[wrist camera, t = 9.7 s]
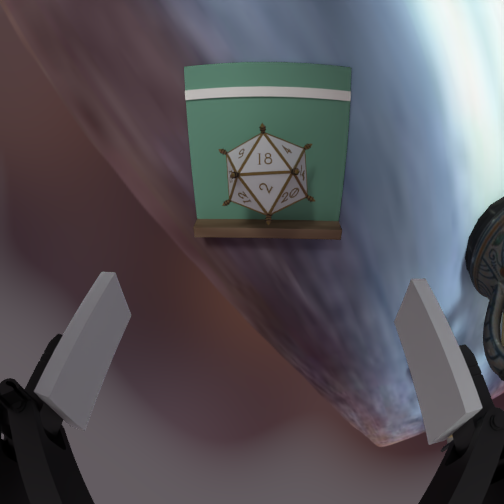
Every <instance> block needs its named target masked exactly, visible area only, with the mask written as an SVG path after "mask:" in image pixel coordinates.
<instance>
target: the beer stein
mask: <svg viewBox="0 0 504 504" xmlns="http://www.w3.org/2000/svg"><path fill="white" fill-rule="evenodd" d="M465 259H466V266H467V270H468V272H469V274H470V277H471V280H472V283H473V285H474V287H475V288H476V290H477V291H478V292H479V293H480V294H481V295H483V296H485V297H487V298H488V299H490V301H489V304H488V308H487V312H486V317H485V322H484V330H483V345H484V351H485V356H486V358H487V361H488V363H489V365H490V367H491V369H492V370H493V371H494V372H495V373H496V374H497V375H498V376H499V377H500V379H501V380H503V381H504V346H503V345H502V342H501V337H500V323H501V316H502V312H503V313H504V197H503V198H501V199H499V200H498V201H496V202H495V203H493V204H491V205H490V206H489V207H488V209H487V210H486V211H485V212H484V213H483V215H482V216H481V217H480V218H479V219H478V221H477V223H476V225H475V227H474V229H473V231H472V233H471V235H470V236H469V240H468V245H467V251H466V256H465Z"/></svg>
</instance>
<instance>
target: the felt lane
mask: <svg viewBox="0 0 504 504" xmlns="http://www.w3.org/2000/svg"><path fill="white" fill-rule="evenodd" d="M184 75H185V100H186V107H187V120H188V133H189V144H190V155H191V166H192V176H193V185H194V195H195V203H196V212H197V219H265V218H266V215H263V214H261V213H258V212H256V211H253V210H251V209H248V208H246V207H243V206H241V205H238V204H235V203H233V202H230V204H229V205H227V206H222V205H223V202H224V201H226V200H228V199H229V193H228V178H227V163H226V155H223V154H221V153H220V152H219V150H218V149H223V148H224V150H225V149H226V151H227V152H229V151H230V150H232V149H234V148H235V147H237V146H239V145H240V144H242V143H244V142H246V141H247V140H249V139H251V138H252V137H254V136H256V135H258V134H259V133H261V131H260V128H259V127H260V126H261V124H262V123H263V124H264V126H266V130H265V132H266V133H268V134H271V135H273V136H276V137H279V138H281V139H284V140H286V141H289V142H291V143H294V144H296V145H298V146H301V147H304V146H305V145H306V144H307V143H308V144H312V146H311V148H309V149H307V150H305V154H306V170H307V190H308V195H309V196H311V197H314V199H315V201H316V202H310V201H308V199H307V198H305V199H303V200H301V201H299V202H297V203H295V204H293V205H291V206H289V207H287V208H285V209H283V210H281V211H279V212H277V213H275V214H273V215H272V216H271V217H272V218H271V219H273V220H316V221H339V215H340V207H341V199H342V191H343V182H344V173H345V163H346V152H347V140H348V127H349V112H350V101H351V68H350V67H342V66H332V65H322V64H308V63H288V62H242V63H221V64H208V65H197V66H188V67H184Z"/></svg>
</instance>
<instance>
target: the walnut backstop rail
mask: <svg viewBox="0 0 504 504" xmlns="http://www.w3.org/2000/svg"><path fill="white" fill-rule="evenodd" d="M265 220H266V219H197V221H196V223H195V225H194V227H193V229H194V236H195V237H231V238H291V239H334V240H341V234H342V229H341V226H340V224H339V221H316V220H273V219H271V220H272V221H271V222H270V224H269V225H268V224H267V223H266V222H265Z"/></svg>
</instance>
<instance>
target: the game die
mask: <svg viewBox="0 0 504 504" xmlns="http://www.w3.org/2000/svg"><path fill="white" fill-rule="evenodd" d="M259 128H260V131H261V133H259V134H258V135H256V136H254V137H252V138H251V139H249V140H247V141H246V142H244V143H242V144H240V145H239V146H237V147H235V148H234V149H232V150H230V151H229V152H227V151H226V149H225V150H224V148H223V149H218V150H219V152H220V153H221V154H223V155H226V163H227V178H228V193H229V199H228V200H226V201H224V202H223V205H222V206H227V205H229V204H230V202H233V203H235V204H238V205H241V206H243V207H246V208H248V209H251V210H253V211H256V212H258V213H261V214H263V215H266V218H265V219H266V220H265V222H266V223H267V224H268V225H269V224H270V222H271V221H272V220H271V218H272V217H271V216H272V215H273V214H275V213H277V212H279V211H281V210H283V209H285V208H287V207H289V206H291V205H293V204H295V203H297V202H299V201H301V200H303V199H305V198H307V199H308V201H310V202H316V201H315V199H314V197H311V196H309V195H308V190H307V170H306V154H305V150H307V149H309V148H311V146H312V144H308V143H307V144H306V145H305V146H304V147H301V146H298V145H296V144H294V143H291V142H289V141H286V140H284V139H281V138H279V137H276V136H273V135H271V134H268V133H266V132H265V130H266V126H264V124H263V123H262V124H261V126H260V127H259Z"/></svg>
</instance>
